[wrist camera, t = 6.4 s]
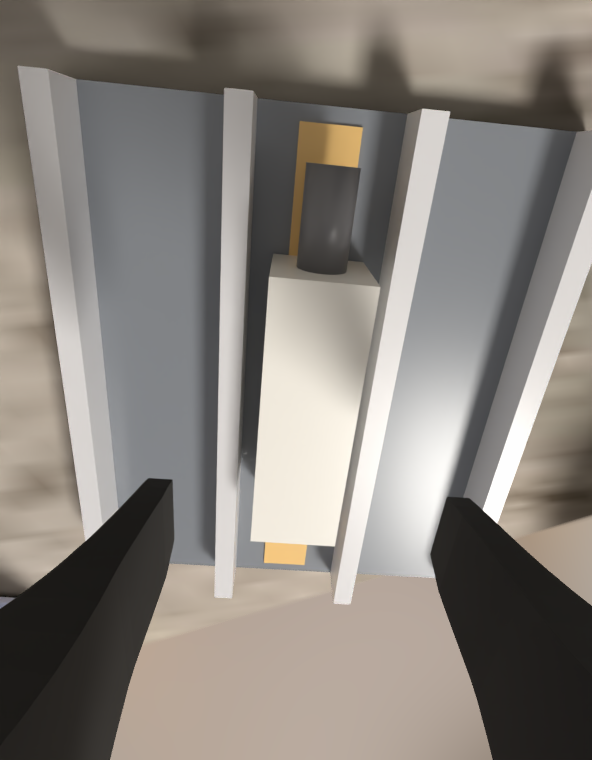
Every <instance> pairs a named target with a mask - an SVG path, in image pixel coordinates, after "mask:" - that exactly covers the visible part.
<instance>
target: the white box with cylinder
mask: <svg viewBox="0 0 592 760" xmlns="http://www.w3.org/2000/svg"><path fill="white" fill-rule="evenodd" d="M360 173H361V168H356V167H347V166H338V165H329V164H319V163H309V162H306V171H305V181H304V192H303V202H302V213H301V223H300V234H299V244H298V255H297V256H293V255H283V254H273V257H272V263H271V268H270V274H269V284H268V298H267V313H266V327H265V341H264V355H263V370H262V384H261V398H260V412H259V426H258V441H257V455H256V469H255V483H254V498H253V512H252V526H251V540H250V541H255V542H271V543H287V544H303V545H319V546H335V543H336V537H337V531H338V526H339V520H340V514H341V509H342V503H343V497H344V492H345V486H346V480H347V475H348V469H349V463H350V458H351V452H352V447H353V441H354V435H355V430H356V424H357V418H358V413H359V407H360V401H361V396H362V390H363V384H364V379H365V373H366V367H367V362H368V356H369V350H370V345H371V339H372V333H373V328H374V322H375V316H376V311H377V305H378V299H379V294H380V288H381V287H380V285H379V284H378V282H377V281H376V280H375V278H374V277H373V275H372V274H371V273H370V271H369V270H368V268H367V267H366V265H365V264H364V263H363V262H357V261H348V257H349V250H350V243H351V236H352V229H353V222H354V215H355V208H356V201H357V194H358V187H359V180H360Z"/></svg>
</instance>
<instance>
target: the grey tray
mask: <svg viewBox="0 0 592 760" xmlns="http://www.w3.org/2000/svg"><path fill="white" fill-rule="evenodd" d="M17 67H18V74H19V81H20V88H21V95H22V102H23V109H24V116H25V123H26V130H27V137H28V144H29V151H30V158H31V165H32V171H33V178H34V185H35V192H36V199H37V206H38V213H39V220H40V227H41V234H42V241H43V248H44V255H45V262H46V269H47V276H48V283H49V290H50V297H51V304H52V311H53V318H54V325H55V332H56V339H57V346H58V353H59V360H60V367H61V374H62V381H63V388H64V395H65V402H66V409H67V416H68V423H69V430H70V437H71V444H72V451H73V457H74V464H75V471H76V478H77V485H78V492H79V499H80V506H81V513H82V520H83V527H84V534H85V541H86V540H87V539H88V538H90V537H91V536H92V535H93V534H94V533H95V532H96V531H97V530H98V529H99V528H100V527H101V526H102V525H103V524H104V523H105V522H106V521H107V520H108V519H109V518H110V517H111V516H112V515H113V514H114V513H115V512H116V511H117V510H118V509H119V508H120V507H121V506H122V505H123V504H124V503H125V502H126V501H127V500H128V499H129V498H130V497H131V495H132V494H133V493H134V492H135V491H136V490H137V489H138V488H139V487H140V486H141V485H142V484H143V482H144V481H146V480H147V479H148V478H157V479H173V507H174V544H173V549H172V553H171V558H170V562H169V563H173V564H191V565H209V566H215V597H218V598H232V594H233V587H234V579H235V571H236V567H245V568H263V569H281V570H300V571H318V572H330V575H331V585H332V595H333V603H334V604H335V603H336V604H350V603H351V599H352V594H353V589H354V584H355V579H356V574H372V575H390V576H408V577H427V578H435V574H434V569H433V564H432V560H431V555H430V553H431V550H432V546H433V543H434V539H435V536H436V532H437V529H438V525H439V522H440V519H441V515H442V512H443V508H444V505H445V501H446V498H447V497H461V498H470V499H471V500H472V501H473V502H475V503H476V504H477V505H478V506H479V507H480V508H481V509H482V510H483V511H484V512H485V513H486V514H488V515H489V516H490V517H491V518H492V519H493V520H494V521H495V522H496V523H498V520H499V517H500V514H501V512H502V509H503V506H504V503H505V501H506V498H507V495H508V492H509V489H510V487H511V484H512V481H513V478H514V476H515V473H516V470H517V467H518V465H519V462H520V459H521V456H522V454H523V451H524V448H525V445H526V443H527V440H528V437H529V434H530V432H531V429H532V426H533V423H534V420H535V418H536V415H537V412H538V409H539V407H540V404H541V401H542V398H543V396H544V393H545V390H546V387H547V385H548V382H549V379H550V376H551V374H552V371H553V368H554V365H555V363H556V360H557V357H558V354H559V351H560V349H561V346H562V343H563V340H564V338H565V335H566V332H567V329H568V327H569V324H570V321H571V318H572V316H573V313H574V310H575V307H576V305H577V302H578V299H579V296H580V294H581V291H582V288H583V285H584V282H585V280H586V277H587V274H588V271H589V269H590V266H591V263H592V131H581V132H574V131H564V130H555V129H545V128H536V127H526V126H517V125H507V124H498V123H488V122H479V121H469V120H460V119H450V118H449V116H450V111H441V110H432V109H420V110H417V111H414V112H412V113H409V114H403V113H393V112H384V111H374V110H365V109H355V108H346V107H336V106H327V105H317V104H308V103H298V102H289V101H279V100H270V99H260V98H257V96H256V94H255V92H254V91H253V90H243V89H234V88H224V95H222V94H213V93H203V92H194V91H184V90H175V89H165V88H156V87H146V86H137V85H127V84H118V83H108V82H99V81H89V80H80V79H74V78H72V77H69V76H66V75H64V74H61V73H58V72H55V71H53V70H50V69H45V68H36V67H27V66H17ZM306 162H309V163H319V164H329V165H338V166H347V167H356V168H361V173H360V180H359V187H358V194H357V201H356V208H355V215H354V222H353V229H352V236H351V243H350V250H349V257H348V261H357V262H363V263H364V264H365V265H366V267H367V268H368V270H369V271H370V273H371V274H372V275H373V277H374V278H375V280H376V281H377V282H378V284H379V285H380V287H381V288H380V294H379V299H378V305H377V311H376V316H375V322H374V328H373V333H372V339H371V345H370V350H369V356H368V362H367V367H366V373H365V379H364V384H363V390H362V396H361V401H360V407H359V413H358V418H357V424H356V430H355V435H354V441H353V447H352V452H351V458H350V463H349V469H348V475H347V480H346V486H345V492H344V497H343V503H342V509H341V514H340V520H339V526H338V531H337V537H336V543H335V546H319V545H303V544H287V543H271V542H255V541H250V540H251V526H252V512H253V498H254V483H255V469H256V455H257V441H258V426H259V412H260V398H261V384H262V370H263V355H264V341H265V327H266V313H267V298H268V284H269V274H270V268H271V263H272V257H273V254H283V255H293V256H297V255H298V244H299V234H300V223H301V213H302V202H303V192H304V181H305V171H306Z"/></svg>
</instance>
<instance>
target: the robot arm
mask: <svg viewBox="0 0 592 760" xmlns="http://www.w3.org/2000/svg"><path fill="white" fill-rule="evenodd" d="M173 544H174V507H173V479H157V478H148V479H147V480H146V481H144V482H143V484H142V485H141V486H140V487H139V488H138V489H137V490H136V491H135V492H134V493H133V494H132V495H131V497H130V498H129V499H128V500H127V501H126V502H125V503H124V504H123V505H122V506H121V507H120V508H119V509H118V510H117V511H116V512H115V513H114V514H113V515H112V516H111V517H110V518H109V519H108V520H107V521H106V522H105V523H104V524H103V525H102V526H101V527H100V528H99V529H98V530H97V531H96V532H95V533H94V534H93V535H92V536H91V537H90V538H88V539H87V540H86V541H85V542H84V543H83V544H82V545H81V546H79V547H78V548H77V549H76V550H75V551H74V552H73V553H72V554H70V555H69V556H68V557H67V558H66V559H65V560H64V561H63V562H61V563H60V564H59V565H58V566H57V567H55V568H54V569H53V570H52V571H50V572H49V573H48V574H47V575H45V576H44V577H43V578H42V579H40V580H39V581H38V582H36V583H35V584H34V585H32V586H31V587H30V588H29V589H27V590H26V591H25V592H23V593H22V594H20V595H19V596H18V597H16V598H13V597H0V760H110V757H111V752H112V749H113V745H114V740H115V737H116V732H117V728H118V724H119V721H120V717H121V713H122V709H123V705H124V702H125V697H126V694H127V690H128V686H129V683H130V679H131V676H132V673H133V670H134V667H135V663H136V661H137V658H138V655H139V652H140V650H141V647H142V644H143V641H144V638H145V635H146V633H147V630H148V627H149V624H150V621H151V619H152V616H153V613H154V610H155V607H156V604H157V602H158V599H159V596H160V593H161V590H162V587H163V584H164V581H165V578H166V575H167V571H168V566H169V562H170V558H171V553H172V549H173ZM430 555H431V560H432V564H433V569H434V574H435V578H436V582H437V586H438V590H439V593H440V596H441V599H442V602H443V605H444V608H445V611H446V613H447V616H448V619H449V622H450V624H451V627H452V630H453V633H454V635H455V638H456V640H457V643H458V646H459V649H460V652H461V654H462V657H463V660H464V663H465V665H466V668H467V671H468V673H469V676H470V679H471V682H472V685H473V688H474V691H475V694H476V697H477V701H478V705H479V708H480V712H481V716H482V720H483V723H484V727H485V730H486V735H487V738H488V742H489V746H490V750H491V754H492V758H493V760H592V606H591V605H590V604H589V603H587V602H586V601H585V600H584V599H582V598H581V597H580V596H578V595H577V594H576V593H575V592H573V591H572V590H571V589H570V588H569V587H567V586H566V585H565V584H564V583H563V582H561V581H560V580H559V579H558V578H557V577H555V576H554V575H553V574H552V573H551V572H549V571H548V570H547V569H546V568H545V567H544V566H543V565H541V564H540V563H539V562H538V561H537V560H536V559H535V558H533V557H532V556H531V555H530V554H529V553H528V552H527V551H526V550H525V549H524V548H523V547H521V546H520V545H519V544H518V543H517V542H516V541H515V540H514V539H513V538H512V537H511V536H510V535H509V534H508V533H506V532H505V531H504V530H503V529H502V528H501V527H500V526H499V525H498V524H497V523H496V522H495V521H494V520H493V519H492V518H491V517H490V516H489V515H488V514H486V513H485V512H484V511H483V510H482V509H481V508H480V507H479V506H478V505H477V504H476V503H475V502H473V501H472V500H471V499H470V498H461V497H447V498H446V501H445V505H444V508H443V512H442V515H441V519H440V522H439V525H438V529H437V532H436V536H435V539H434V543H433V546H432V550H431V553H430Z"/></svg>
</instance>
